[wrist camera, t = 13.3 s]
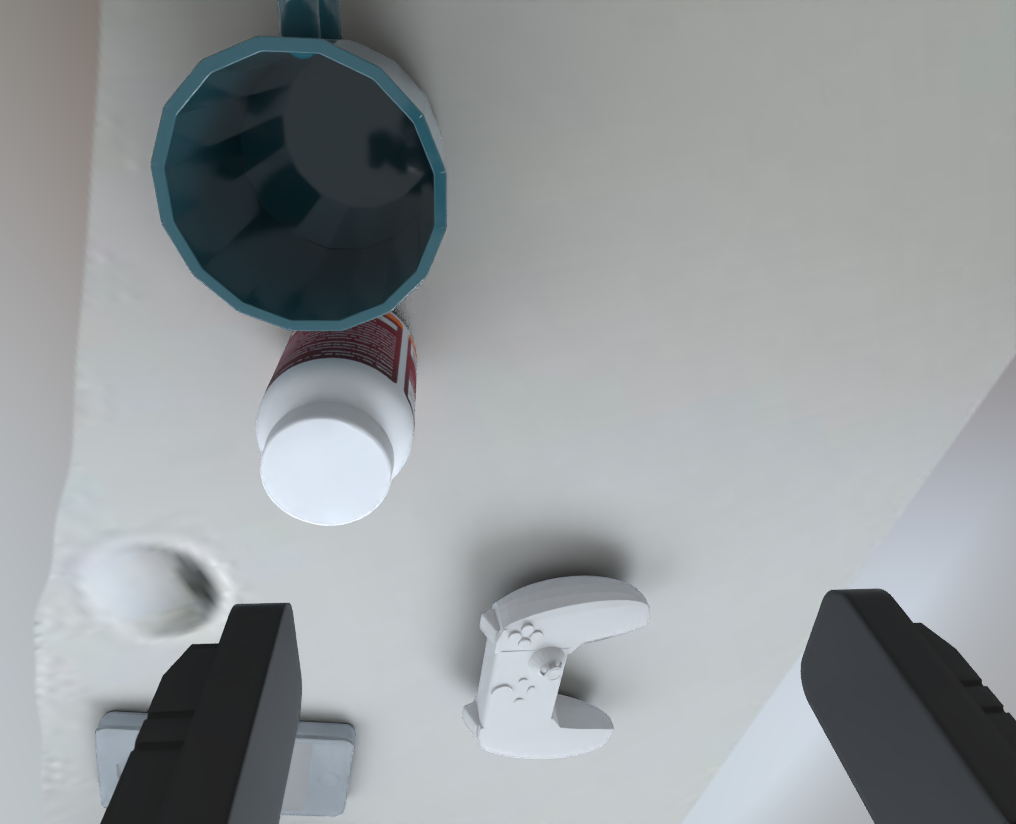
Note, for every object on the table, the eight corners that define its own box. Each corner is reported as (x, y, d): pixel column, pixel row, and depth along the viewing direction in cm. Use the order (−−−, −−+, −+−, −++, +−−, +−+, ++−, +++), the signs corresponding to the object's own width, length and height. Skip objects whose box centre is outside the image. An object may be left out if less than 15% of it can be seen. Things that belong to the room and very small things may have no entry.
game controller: (613, 765, 47) (469, 794, 43) (587, 711, 50) (452, 733, 47) (667, 600, 40) (503, 619, 37) (633, 552, 44) (481, 565, 41)
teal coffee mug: (442, 255, 33) (446, 331, 24) (249, 252, 32) (180, 331, 23) (441, -60, 27) (446, -111, 18) (207, -74, 26) (93, -134, 18)
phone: (345, 800, 51) (343, 818, 49) (107, 792, 48) (99, 810, 47) (357, 723, 47) (355, 740, 46) (100, 709, 44) (91, 727, 43)
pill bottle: (263, 339, 34) (196, 457, 24) (364, 268, 33) (336, 362, 23) (346, 430, 37) (314, 568, 27) (442, 367, 36) (445, 488, 26)
